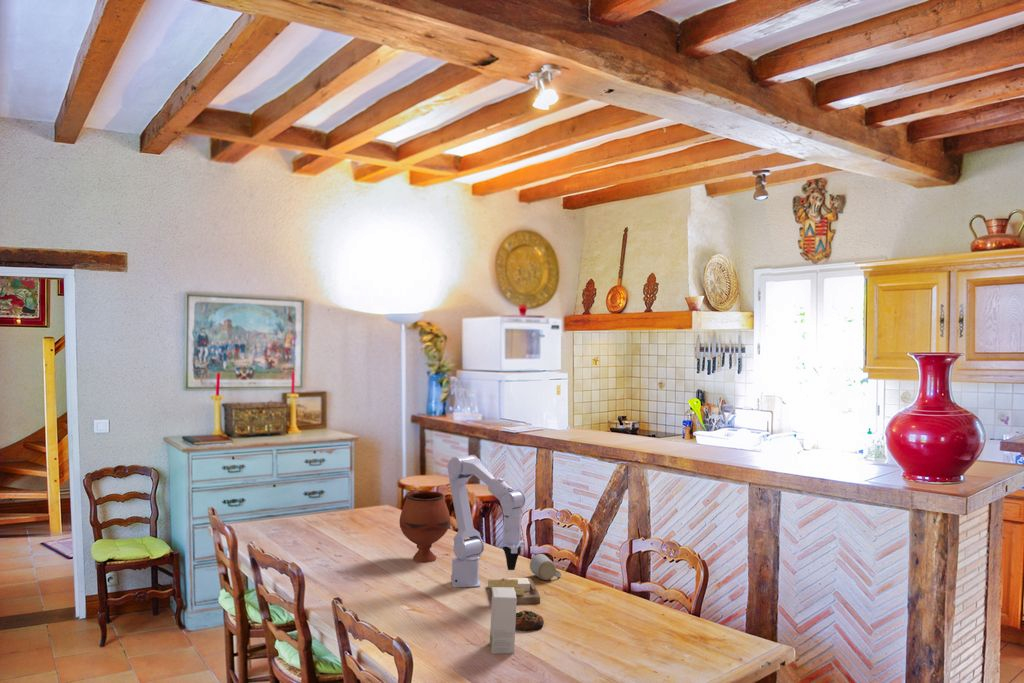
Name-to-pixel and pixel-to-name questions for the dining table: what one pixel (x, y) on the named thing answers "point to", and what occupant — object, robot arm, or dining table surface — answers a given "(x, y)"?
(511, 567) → the robot arm
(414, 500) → the goblet
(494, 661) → the dining table surface
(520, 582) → the cream cover
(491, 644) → the skincare box
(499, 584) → the brass T-key
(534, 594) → the board
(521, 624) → the bread roll
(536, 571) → the ceramic mug
